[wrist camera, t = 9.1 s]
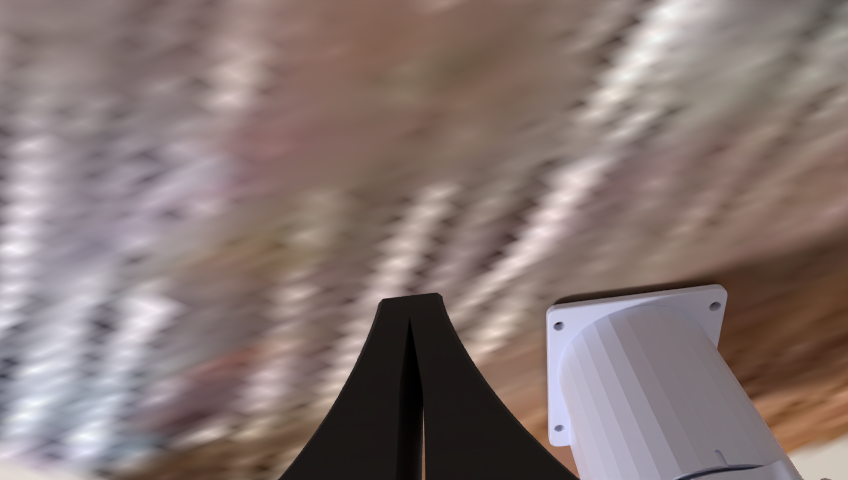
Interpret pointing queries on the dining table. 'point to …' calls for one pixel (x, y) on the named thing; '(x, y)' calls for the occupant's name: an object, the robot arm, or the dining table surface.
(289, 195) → the dining table surface
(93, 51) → the dining table surface
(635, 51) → the dining table surface
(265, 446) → the dining table surface
